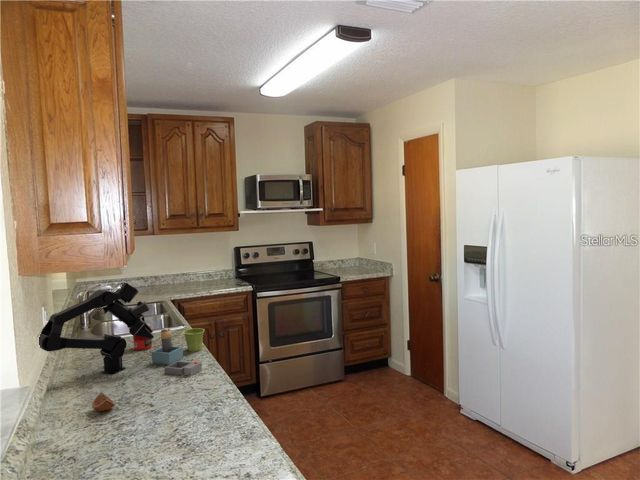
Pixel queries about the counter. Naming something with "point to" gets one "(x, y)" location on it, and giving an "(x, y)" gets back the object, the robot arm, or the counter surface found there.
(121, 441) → the counter surface
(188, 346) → the plant pot
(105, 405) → the brown lump
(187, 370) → the tester
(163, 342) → the battery cell
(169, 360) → the bin
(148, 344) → the canned food
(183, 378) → the counter surface
